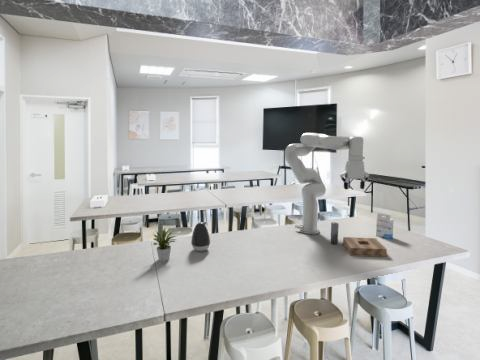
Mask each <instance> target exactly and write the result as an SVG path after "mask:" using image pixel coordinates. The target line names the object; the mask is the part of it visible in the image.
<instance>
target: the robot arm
mask: <svg viewBox="0 0 480 360" xmlns="http://www.w3.org/2000/svg"><path fill="white" fill-rule="evenodd" d="M299 138H300V143H291V144H289V145H287V146H286V148H285V150H284V157H285V161H286V162H287V164H288V166H289V167H290V169H291V171H292V173H293V175H294V177H295V178H296V180H297V182H298V184H301V185H303V187H302V188H301V198H302V220H301V221H302V222H301V224H295V225H294V228H296V229H299V232H300V233H303V234H305V235H317V234H319V233H320V229H318V212H319V211H318V209H319V205H318V200H317V198H321V197H323V196H324V195H326V192H327V191H326V190H327V189H326V185H325V184H324V182H323V180H322V178H321V177H320V174H319V173H318V172H317V171H316V169H313V168H307V167H306V166H305V164H304V163H303V161H302V159H300V158H299V157H305V156H308V155H309V154H310V153H311V152H312V151H314V150H315V149H316V148H319V149H329V150H334V151H335V150H336V151H338V150H339V151H342V150H348V155H347V156H348V158H347V160H346V163H345V167H344V172H342V173H340V174H339V176H340V179H341V180H342V182H343V188H344V190H348V189H349V180H360V183H359V188H360V189H361V190H365V186H366V181H367V180H369V177H370V173H368V172H366V171H365V162H364V160H365V156H364V155H363V153H364V138H363V137H362V136H342V135H341V136H336V135H326V133H325V134H324V133H317V132H305V133H303V134H302V135H301V136H300V137H299ZM304 184H305V185H304Z"/></svg>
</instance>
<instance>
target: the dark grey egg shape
mask: <svg viewBox="0 0 480 360" xmlns="http://www.w3.org/2000/svg"><path fill="white" fill-rule="evenodd" d="M206 225H207V222H206V221H204V222H198V223H196V224H195V226H194V229H193V231H192V235H191V240H190V241H191V242H190V243H191V246H192V249H194V251H196V252H205V251H207V250H208V249H209V247H210V245H211V237H210V233H209V231H208V228H207V226H206Z"/></svg>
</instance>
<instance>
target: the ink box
mask: <svg viewBox="0 0 480 360" xmlns="http://www.w3.org/2000/svg"><path fill="white" fill-rule="evenodd" d="M375 233H376V234H375V236H376V237H379V238H383V239H388V240H390V239H392V238H393V237H394V218H391V215H390V214H385V213H379V212H377V216H376V229H375Z"/></svg>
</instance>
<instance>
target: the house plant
mask: <svg viewBox="0 0 480 360" xmlns="http://www.w3.org/2000/svg"><path fill="white" fill-rule="evenodd" d="M169 231H170V229H167V231H166V227H164V228H163V227H162V228H161V234H160V233H159V232H158V231H157V230H155V232H153V236H154V237H155V238H153V240H154V241H155V242H153V246H156V245H157V247H156V252H157V257H158V258H157V259H158V261H159V262H166V261H170V259H171V257H170V256H171V249H172V246H171V245H170V244H172V243H176V241H177V239H176V237H177V235H175V229H173V230H171V231H170V233H169ZM168 233H169V234H168ZM167 234H168V235H167Z"/></svg>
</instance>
